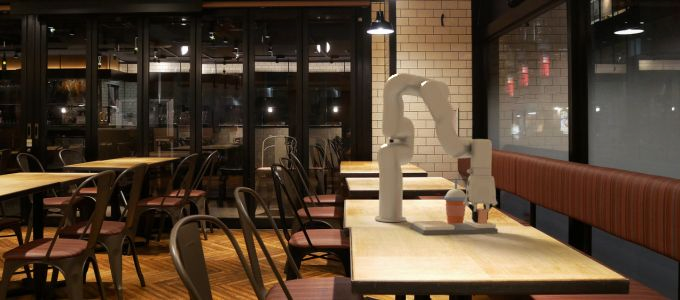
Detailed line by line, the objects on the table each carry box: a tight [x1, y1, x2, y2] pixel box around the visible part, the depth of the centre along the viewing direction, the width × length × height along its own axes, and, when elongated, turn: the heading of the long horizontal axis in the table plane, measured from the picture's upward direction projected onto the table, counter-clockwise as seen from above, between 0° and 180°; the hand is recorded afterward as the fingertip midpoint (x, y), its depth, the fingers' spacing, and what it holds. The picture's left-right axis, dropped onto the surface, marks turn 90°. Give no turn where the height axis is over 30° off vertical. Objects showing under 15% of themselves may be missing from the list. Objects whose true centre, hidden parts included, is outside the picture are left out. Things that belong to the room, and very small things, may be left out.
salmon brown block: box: [464, 207, 497, 229], centre depth 224 cm, size 12×7×6 cm, turn 11°
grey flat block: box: [409, 220, 499, 236], centre depth 223 cm, size 15×28×3 cm, turn 101°
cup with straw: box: [443, 177, 467, 224], centre depth 242 cm, size 9×9×18 cm
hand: (479, 221), depth 224 cm, fingers closed on salmon brown block, 3 cm apart
